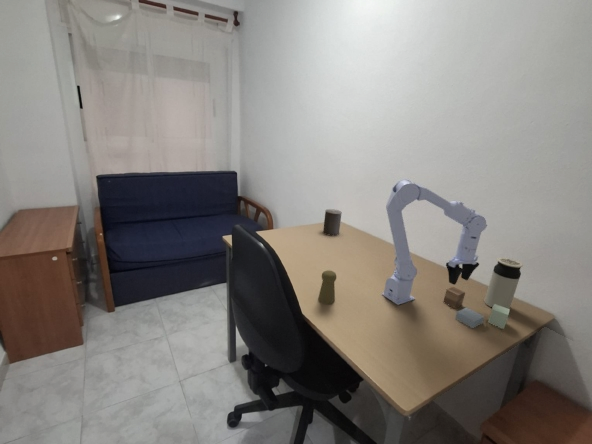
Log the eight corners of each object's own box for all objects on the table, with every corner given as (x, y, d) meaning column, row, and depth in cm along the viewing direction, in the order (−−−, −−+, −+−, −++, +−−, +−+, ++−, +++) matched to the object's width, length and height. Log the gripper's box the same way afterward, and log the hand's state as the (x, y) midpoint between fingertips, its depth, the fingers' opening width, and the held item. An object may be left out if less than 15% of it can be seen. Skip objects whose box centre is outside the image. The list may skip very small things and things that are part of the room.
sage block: (503, 329, 96) (508, 315, 94) (487, 323, 99) (492, 309, 97) (505, 323, 99) (509, 309, 98) (489, 317, 102) (494, 303, 100)
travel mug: (509, 314, 104) (524, 268, 99) (484, 306, 108) (497, 262, 103) (508, 304, 111) (522, 261, 106) (484, 297, 115) (496, 255, 110)
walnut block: (454, 308, 106) (458, 295, 104) (443, 302, 110) (446, 289, 108) (461, 305, 108) (465, 292, 106) (450, 299, 112) (453, 286, 110)
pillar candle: (322, 234, 173) (325, 210, 168) (323, 229, 182) (326, 206, 178) (338, 236, 172) (342, 212, 167) (339, 231, 181) (342, 208, 176)
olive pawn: (324, 305, 102) (327, 277, 99) (315, 296, 107) (317, 269, 104) (338, 302, 105) (341, 274, 102) (328, 293, 110) (331, 267, 107)
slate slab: (472, 329, 95) (474, 321, 94) (454, 319, 100) (456, 311, 99) (482, 324, 98) (484, 316, 97) (464, 314, 103) (466, 307, 102)
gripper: (466, 253, 95) (457, 290, 99) (490, 247, 102) (480, 282, 106) (446, 246, 101) (438, 281, 105) (470, 240, 108) (461, 273, 112)
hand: (458, 281), depth 106 cm, fingers open, 7 cm apart
